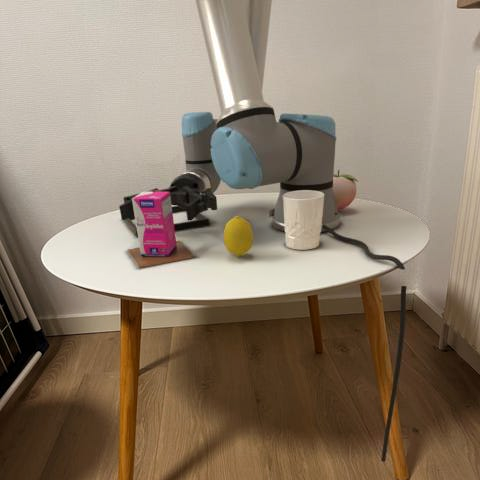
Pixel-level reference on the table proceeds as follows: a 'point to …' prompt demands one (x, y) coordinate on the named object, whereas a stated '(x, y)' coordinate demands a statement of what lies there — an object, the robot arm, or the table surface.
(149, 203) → the supplement box
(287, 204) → the white cup
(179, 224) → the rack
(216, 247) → the table surface
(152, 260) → the mat
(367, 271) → the table surface
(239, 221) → the lemon
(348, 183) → the decorative fruit
